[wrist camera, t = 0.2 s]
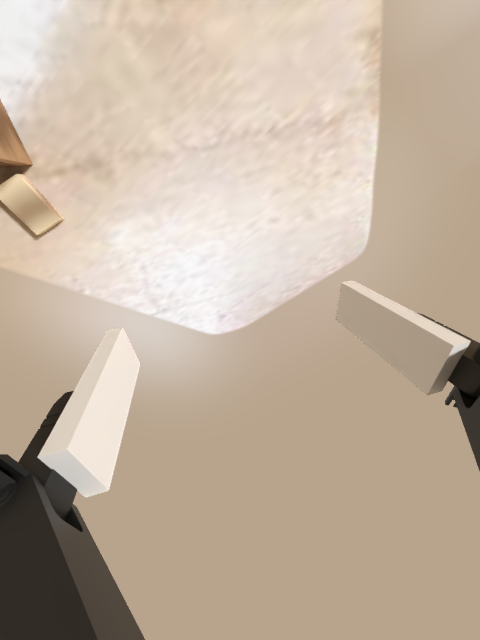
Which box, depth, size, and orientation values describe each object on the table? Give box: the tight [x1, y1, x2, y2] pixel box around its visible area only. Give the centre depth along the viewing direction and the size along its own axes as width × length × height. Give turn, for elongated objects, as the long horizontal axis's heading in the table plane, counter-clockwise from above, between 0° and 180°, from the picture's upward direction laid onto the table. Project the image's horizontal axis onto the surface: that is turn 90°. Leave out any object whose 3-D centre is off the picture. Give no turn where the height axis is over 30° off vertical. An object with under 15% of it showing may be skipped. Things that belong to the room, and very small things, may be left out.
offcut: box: [0, 174, 64, 235], centre depth 29 cm, size 6×4×2 cm, turn 28°
